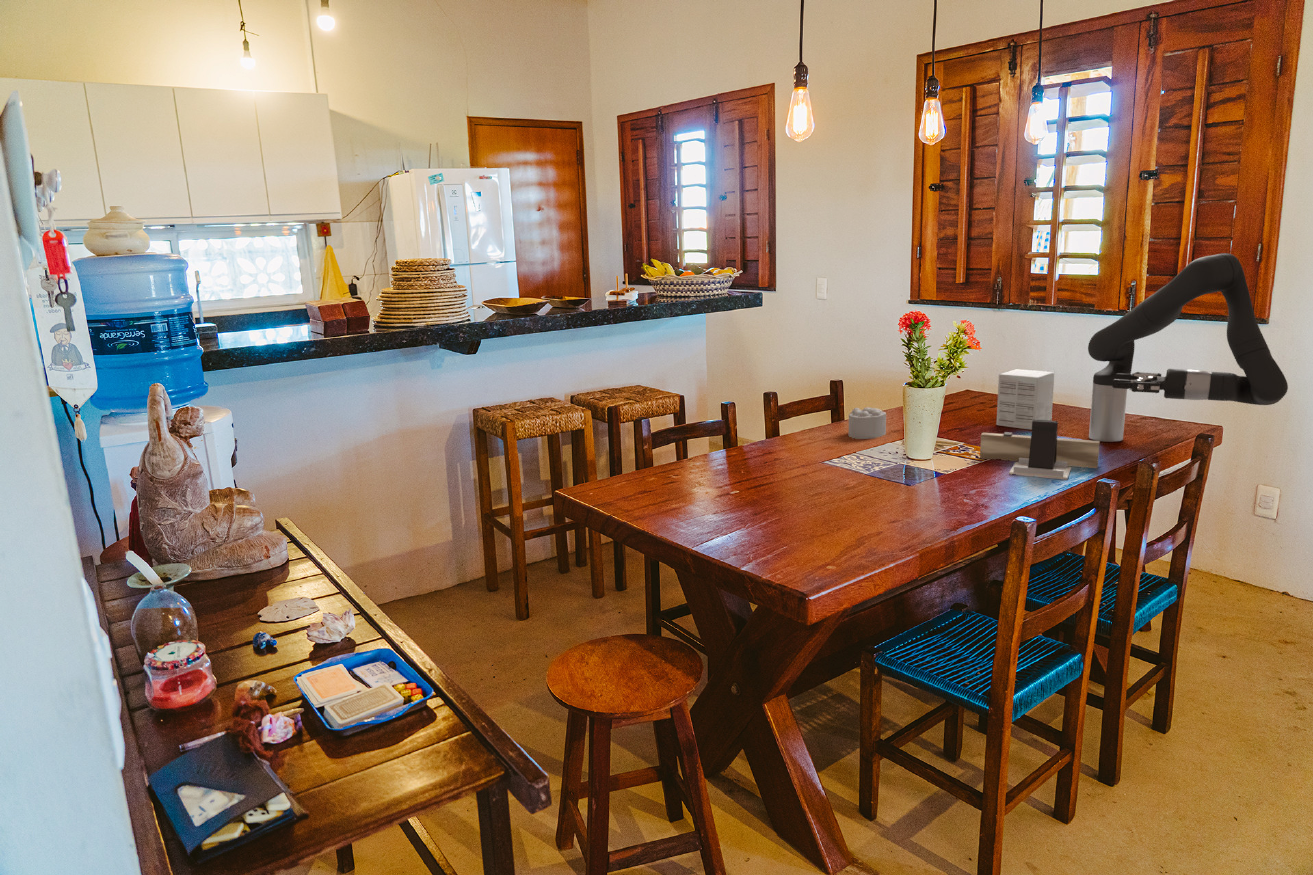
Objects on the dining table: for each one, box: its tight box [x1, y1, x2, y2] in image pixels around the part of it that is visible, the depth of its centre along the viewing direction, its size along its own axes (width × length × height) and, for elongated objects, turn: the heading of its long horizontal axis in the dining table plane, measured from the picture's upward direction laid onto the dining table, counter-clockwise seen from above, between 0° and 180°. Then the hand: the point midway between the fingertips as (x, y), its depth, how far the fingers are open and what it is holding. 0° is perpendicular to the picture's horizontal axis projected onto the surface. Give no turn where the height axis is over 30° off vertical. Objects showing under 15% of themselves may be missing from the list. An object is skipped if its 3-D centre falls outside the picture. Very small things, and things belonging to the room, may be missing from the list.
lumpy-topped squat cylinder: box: [848, 406, 887, 440], centre depth 271 cm, size 10×13×9 cm
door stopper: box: [1028, 420, 1059, 469], centre depth 220 cm, size 9×6×12 cm, turn 149°
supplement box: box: [995, 368, 1055, 431], centre depth 274 cm, size 13×13×18 cm
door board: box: [979, 431, 1101, 469], centre depth 230 cm, size 3×30×8 cm, turn 59°
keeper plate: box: [1008, 458, 1072, 481], centre depth 222 cm, size 11×14×2 cm
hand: (1113, 380), depth 215 cm, fingers open, 8 cm apart
